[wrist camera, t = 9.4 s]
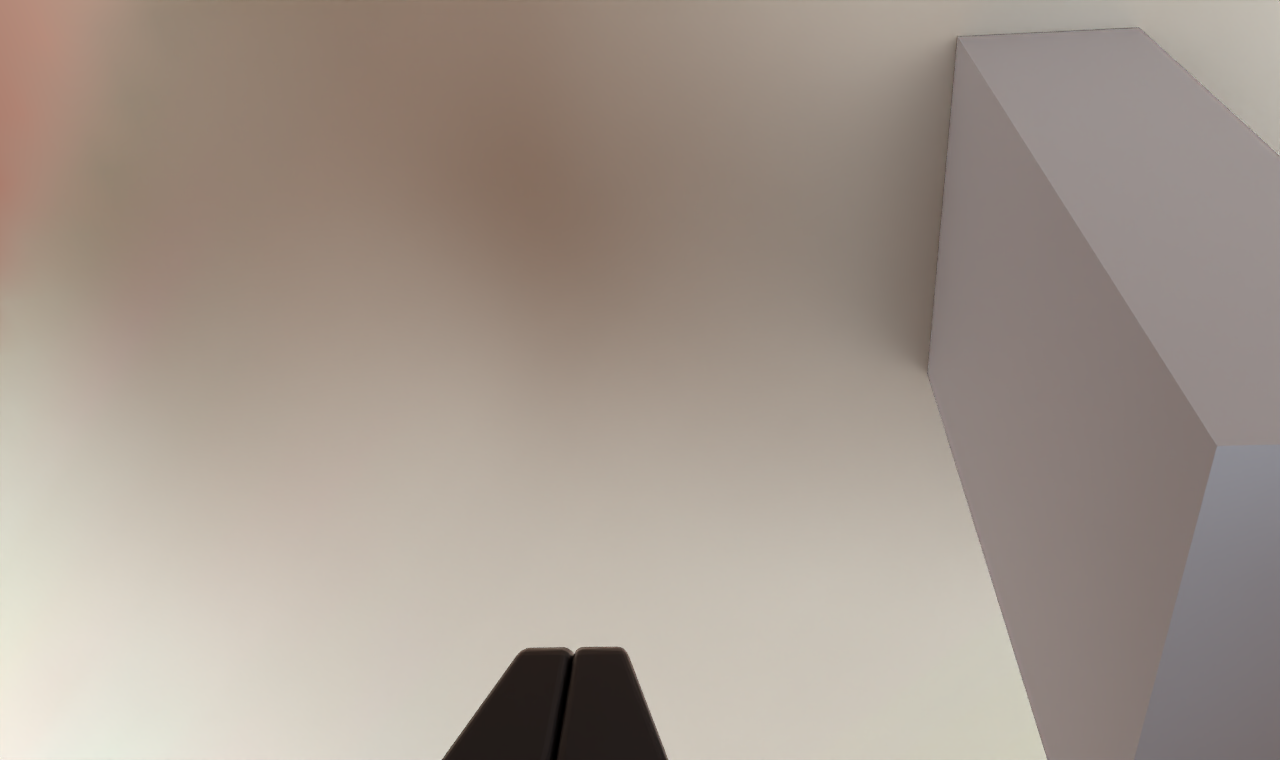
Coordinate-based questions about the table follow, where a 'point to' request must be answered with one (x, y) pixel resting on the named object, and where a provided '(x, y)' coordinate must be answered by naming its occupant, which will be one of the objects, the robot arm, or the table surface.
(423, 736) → the table surface
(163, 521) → the table surface
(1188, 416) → the slate domino
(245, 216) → the table surface
